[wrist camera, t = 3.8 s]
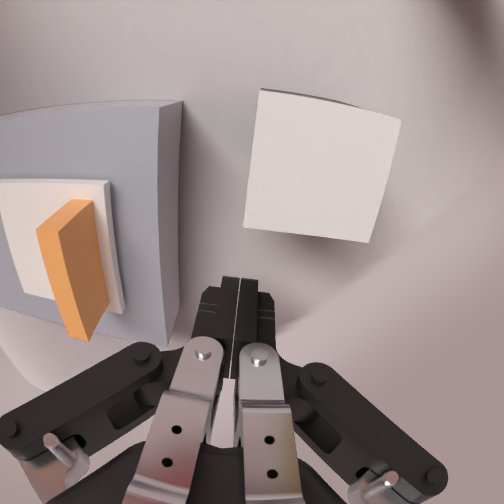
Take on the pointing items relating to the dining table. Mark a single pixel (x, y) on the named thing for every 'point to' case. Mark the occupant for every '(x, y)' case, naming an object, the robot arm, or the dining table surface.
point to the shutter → (64, 246)
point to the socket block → (122, 200)
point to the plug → (318, 166)
